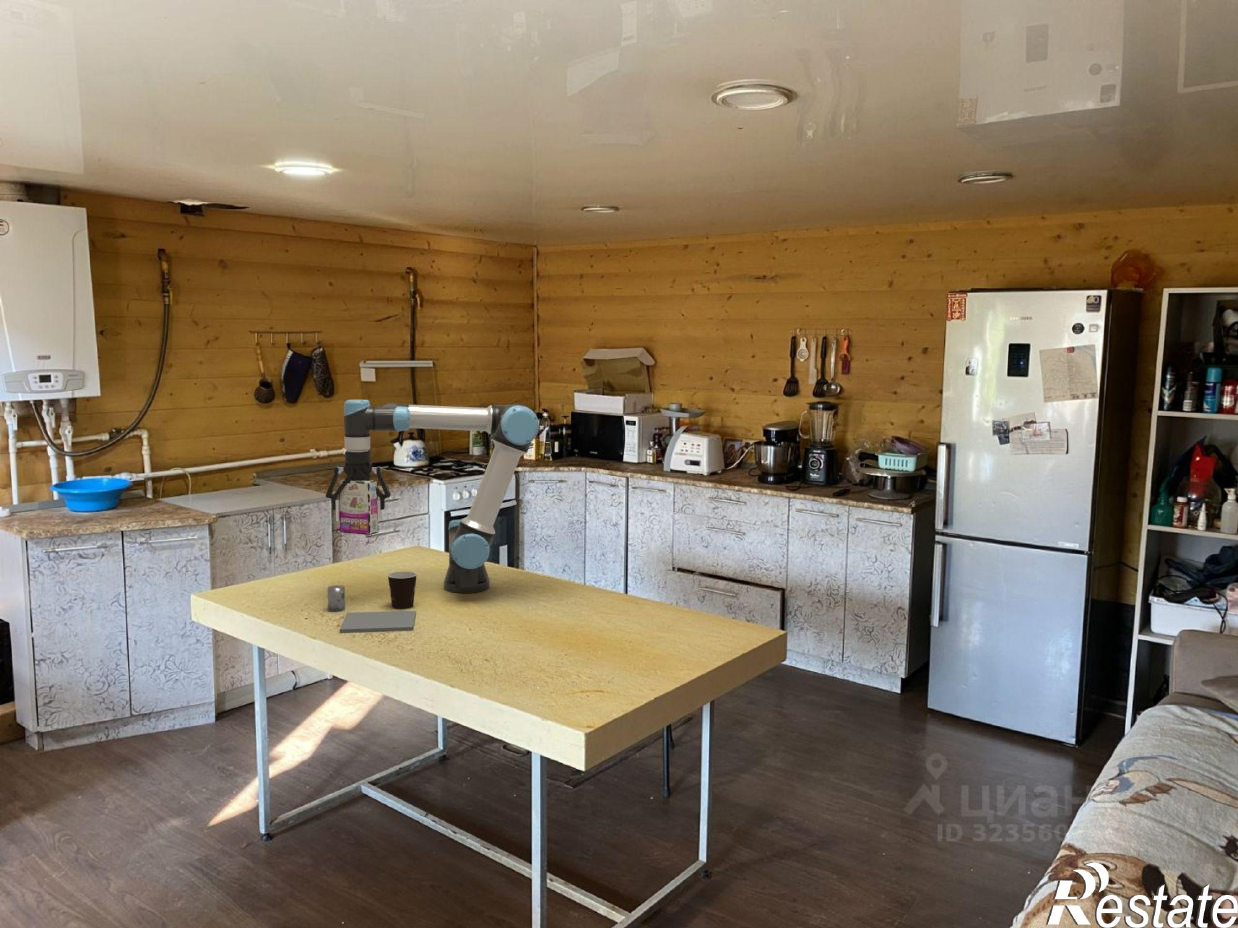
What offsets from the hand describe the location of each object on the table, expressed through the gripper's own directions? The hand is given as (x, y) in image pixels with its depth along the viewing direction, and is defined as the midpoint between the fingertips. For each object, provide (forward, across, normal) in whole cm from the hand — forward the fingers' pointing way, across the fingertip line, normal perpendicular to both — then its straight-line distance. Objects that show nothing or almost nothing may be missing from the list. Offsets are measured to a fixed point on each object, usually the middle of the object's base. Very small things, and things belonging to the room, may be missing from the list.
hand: (358, 520), depth 276 cm
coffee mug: (+26, -14, +3) cm, 30 cm away
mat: (+26, -8, +21) cm, 35 cm away
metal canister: (+26, +6, +7) cm, 28 cm away
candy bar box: (+4, 0, 0) cm, 4 cm away
